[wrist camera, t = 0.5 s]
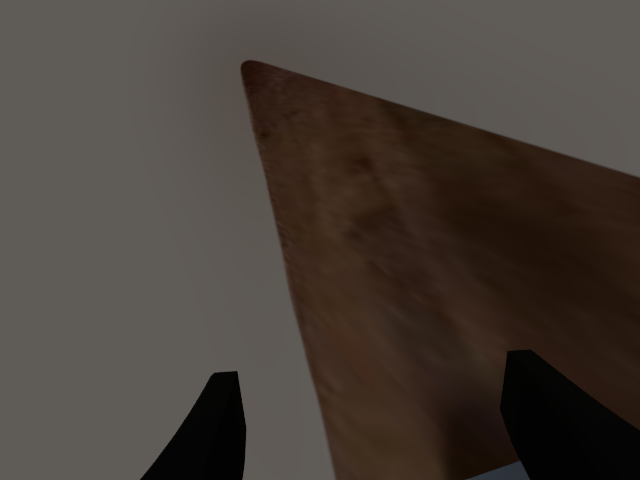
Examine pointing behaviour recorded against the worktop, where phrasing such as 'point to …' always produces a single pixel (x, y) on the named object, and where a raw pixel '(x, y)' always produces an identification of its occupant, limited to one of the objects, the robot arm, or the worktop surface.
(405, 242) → the worktop surface
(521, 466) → the block
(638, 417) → the worktop surface
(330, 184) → the worktop surface
